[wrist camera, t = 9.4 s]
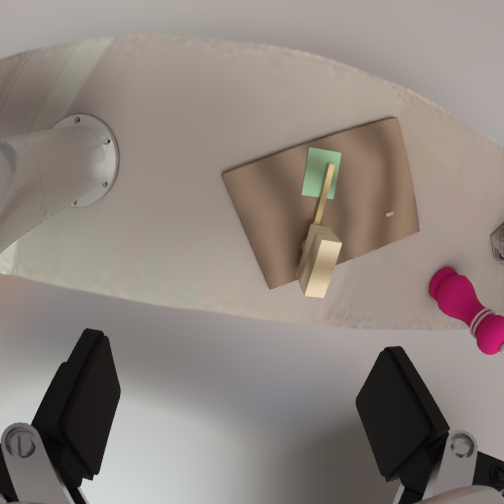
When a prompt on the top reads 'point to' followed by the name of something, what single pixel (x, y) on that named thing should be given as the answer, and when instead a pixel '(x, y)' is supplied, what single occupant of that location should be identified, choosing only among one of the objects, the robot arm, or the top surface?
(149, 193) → the top surface
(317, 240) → the wooden mallet
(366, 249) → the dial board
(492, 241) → the coffee box
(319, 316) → the top surface
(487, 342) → the pepper mill
